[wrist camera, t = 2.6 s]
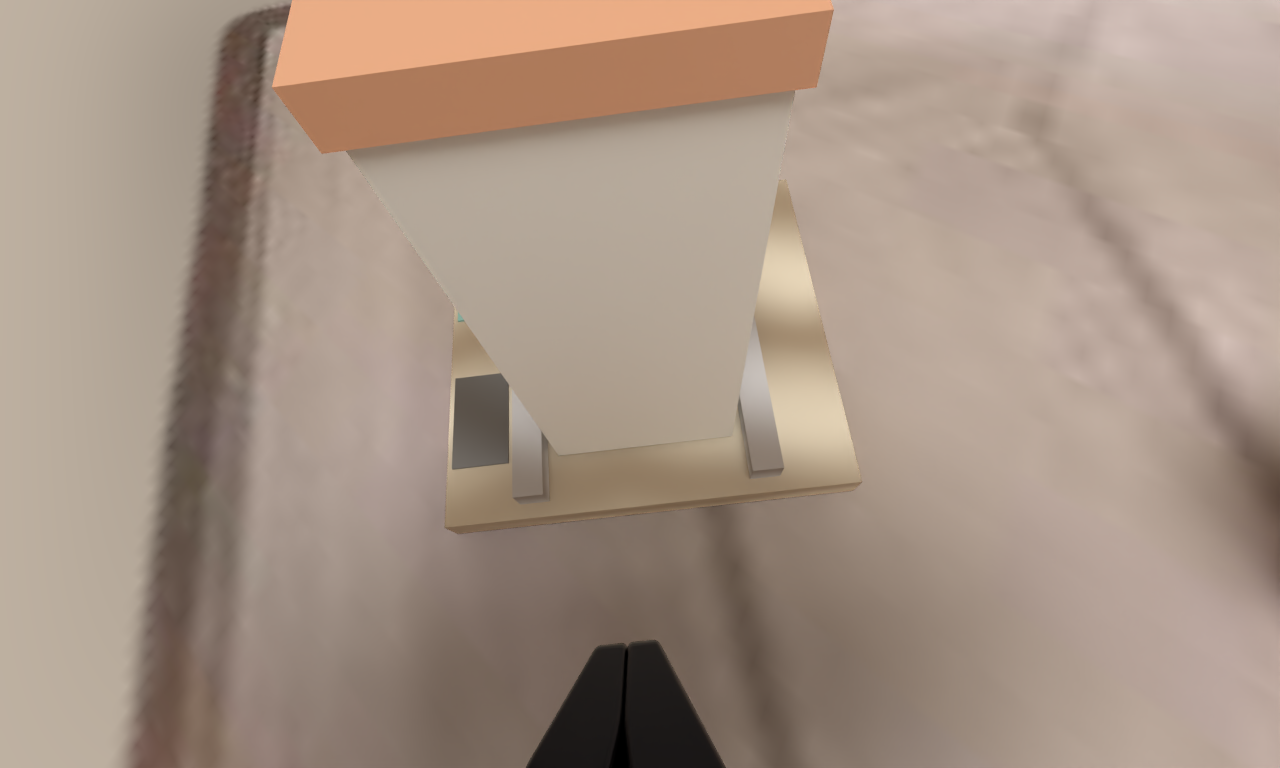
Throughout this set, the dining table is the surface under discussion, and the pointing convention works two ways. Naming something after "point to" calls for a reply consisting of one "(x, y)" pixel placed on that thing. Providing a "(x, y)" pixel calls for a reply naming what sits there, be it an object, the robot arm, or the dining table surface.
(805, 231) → the dining table surface
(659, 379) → the white rectangular tower
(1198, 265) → the dining table surface
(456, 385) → the switch base
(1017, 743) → the dining table surface
